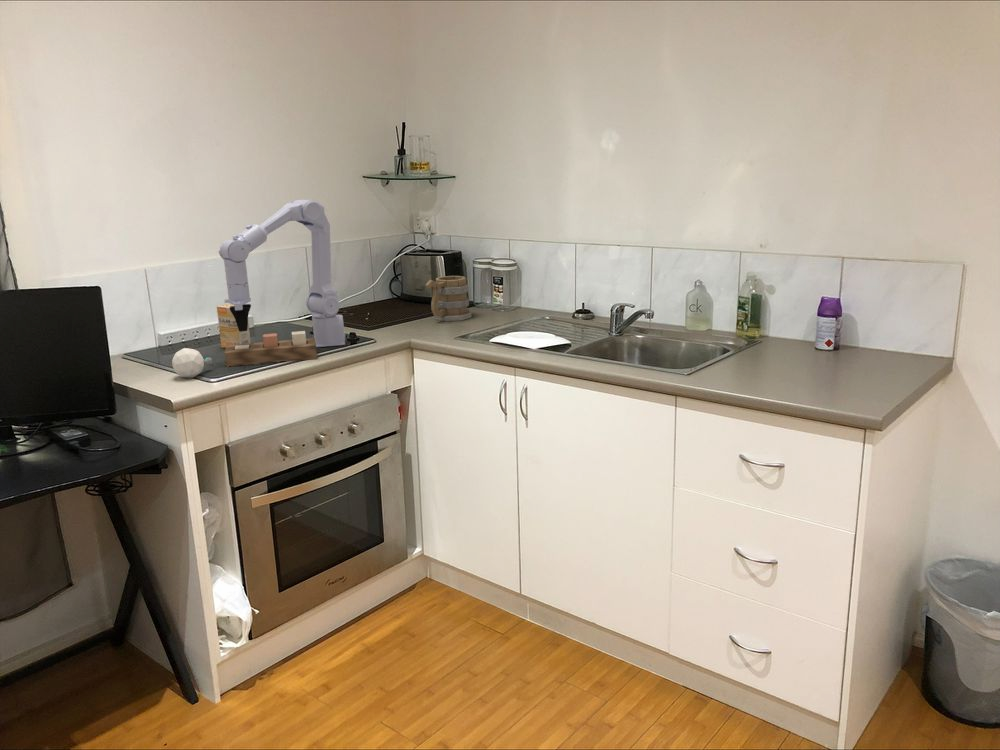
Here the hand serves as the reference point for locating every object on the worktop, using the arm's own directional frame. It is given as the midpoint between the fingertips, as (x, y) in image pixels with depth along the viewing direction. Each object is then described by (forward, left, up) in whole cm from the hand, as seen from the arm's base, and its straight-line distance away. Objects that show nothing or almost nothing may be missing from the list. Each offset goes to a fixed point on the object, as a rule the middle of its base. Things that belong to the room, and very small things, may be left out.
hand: (243, 330), depth 230 cm
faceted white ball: (+13, +11, -9) cm, 19 cm away
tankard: (-65, -36, -9) cm, 75 cm away
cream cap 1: (+1, 0, -8) cm, 8 cm away
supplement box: (+4, -19, -9) cm, 21 cm away
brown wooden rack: (-7, 0, -9) cm, 11 cm away
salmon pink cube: (-7, 0, -6) cm, 9 cm away
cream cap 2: (-15, 0, -6) cm, 16 cm away
